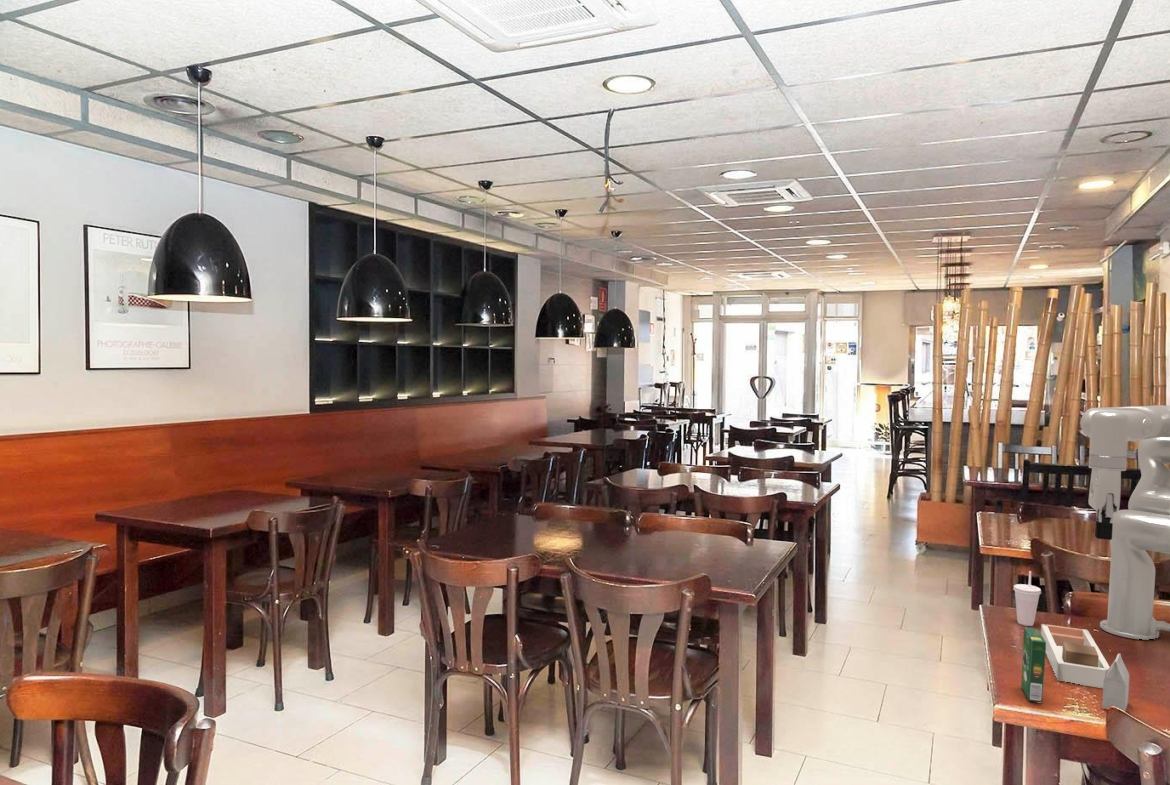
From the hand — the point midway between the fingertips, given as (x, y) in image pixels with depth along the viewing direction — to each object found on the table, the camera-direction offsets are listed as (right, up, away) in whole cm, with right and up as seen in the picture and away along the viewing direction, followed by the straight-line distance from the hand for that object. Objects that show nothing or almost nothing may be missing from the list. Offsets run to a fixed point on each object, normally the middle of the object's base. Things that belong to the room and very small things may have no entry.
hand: (1103, 538), depth 189 cm
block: (-16, -25, -17) cm, 34 cm away
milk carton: (-18, -29, -30) cm, 45 cm away
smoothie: (-8, -26, +19) cm, 33 cm away
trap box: (-12, -27, -8) cm, 31 cm away
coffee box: (-32, -28, -26) cm, 50 cm away
